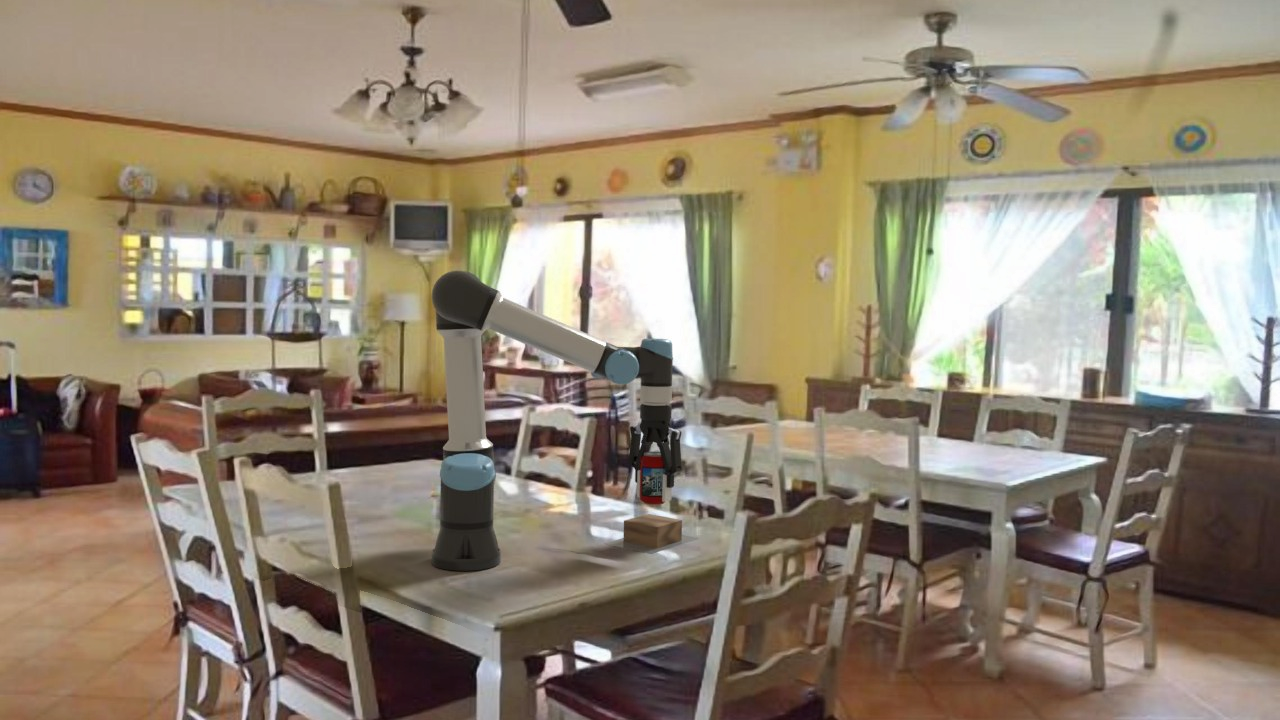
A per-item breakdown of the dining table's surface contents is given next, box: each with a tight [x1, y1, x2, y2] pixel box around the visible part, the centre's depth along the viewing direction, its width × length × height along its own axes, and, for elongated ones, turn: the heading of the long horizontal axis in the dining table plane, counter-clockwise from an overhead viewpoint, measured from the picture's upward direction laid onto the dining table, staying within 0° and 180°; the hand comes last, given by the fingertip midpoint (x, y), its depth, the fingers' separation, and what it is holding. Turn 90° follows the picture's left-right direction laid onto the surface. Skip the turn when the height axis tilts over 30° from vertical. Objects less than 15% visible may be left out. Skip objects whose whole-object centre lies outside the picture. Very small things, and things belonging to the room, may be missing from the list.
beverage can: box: [639, 451, 666, 506], centre depth 243 cm, size 7×7×12 cm
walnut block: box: [623, 513, 683, 548], centre depth 244 cm, size 10×10×5 cm
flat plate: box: [603, 534, 701, 555], centre depth 244 cm, size 20×14×1 cm
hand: (654, 498), depth 243 cm, fingers closed on beverage can, 7 cm apart
